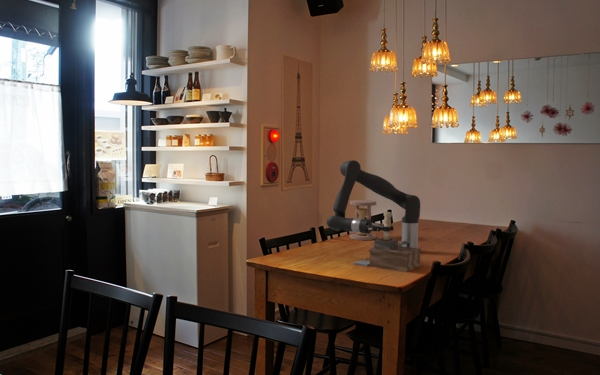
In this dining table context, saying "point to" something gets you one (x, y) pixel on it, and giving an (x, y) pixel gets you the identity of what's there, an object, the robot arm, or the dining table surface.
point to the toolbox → (394, 255)
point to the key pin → (387, 225)
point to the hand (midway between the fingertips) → (391, 228)
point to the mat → (362, 263)
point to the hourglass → (363, 213)
